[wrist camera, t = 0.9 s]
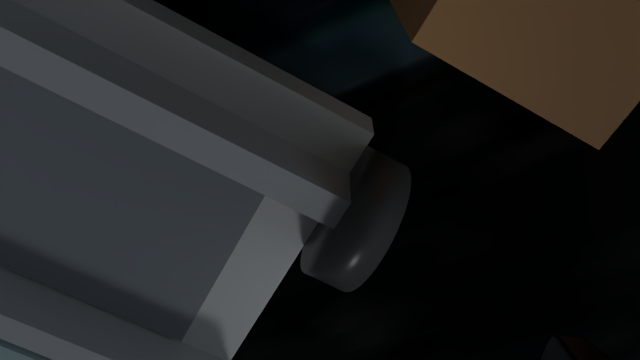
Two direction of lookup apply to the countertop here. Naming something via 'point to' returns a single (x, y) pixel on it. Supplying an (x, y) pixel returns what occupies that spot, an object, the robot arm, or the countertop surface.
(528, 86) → the brown cardboard cube
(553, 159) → the countertop surface
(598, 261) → the countertop surface
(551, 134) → the countertop surface
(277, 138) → the chassis
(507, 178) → the countertop surface
